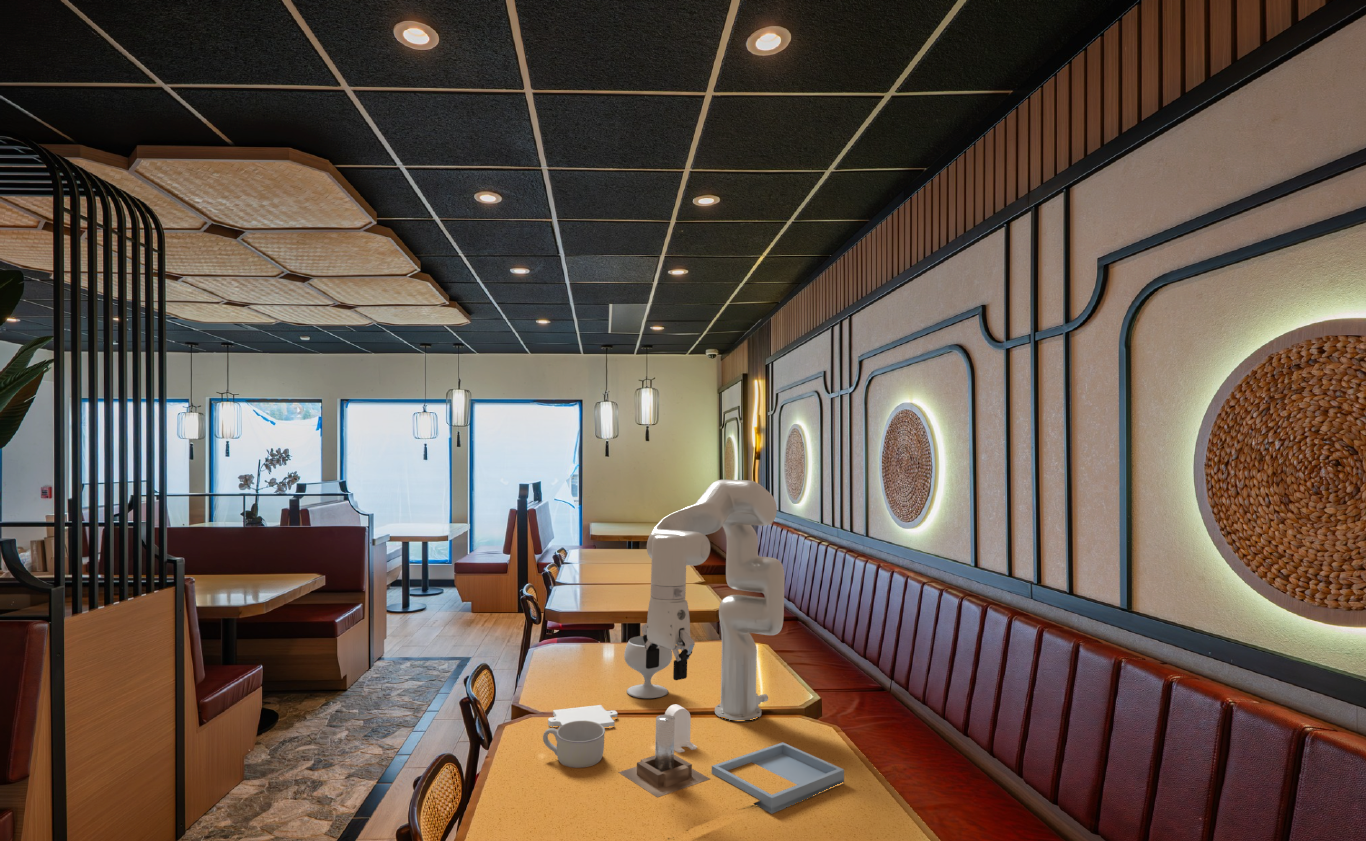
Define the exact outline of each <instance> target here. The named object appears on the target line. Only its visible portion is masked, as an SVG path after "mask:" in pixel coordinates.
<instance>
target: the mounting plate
mask: <svg viewBox="0 0 1366 841" xmlns="http://www.w3.org/2000/svg"><path fill="white" fill-rule="evenodd" d="M553 716H554V717H553ZM612 717H617V718H618V712H617V710H615V709H614V710H612V709H611V710H606V709H605V708H604V707H603V705H602V704H597V705H589V706H579V707H571V708H560V709H553V710H552V717H551V716H550V717H548V719H547V721H548V722H547V725H549V726H552V727H553V726H560V727H561V726H562V725H564V724H566V723H569V722H573V721H592V722H596V723H599V724H600V725H602V726H603V727H609V726H614V727H615V720H613V719H612ZM549 726H548V727H549Z"/></svg>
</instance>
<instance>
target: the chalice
mask: <svg viewBox="0 0 1366 841" xmlns="http://www.w3.org/2000/svg"><path fill="white" fill-rule="evenodd" d="M643 636H644V635H638V636H633V637H631V638H630V639H629V640H628V642H627V643H626V646H625V648H624V649H625V650H624V654H623V656H624V661H625V663H626V665H627V666H628V667H630V668H631V669H632V670H634V671H637V672H638V673H639V674H641V676H643V680H644V682H643V684H636V685H632V686H630V687H628V688H627V689H626V694H628V695H629V696H632V697H633V698H637V699H638V698H639V699H655V698H656V699H657V698H661V697H664V696H666V695H667V694H668V693H669V690H668V688H666V687H664V686H662V685H659V684H652V677H653V676H655V674H656V673H658V672H660V671H662V670H664V669H666V668H667V667H668V666H669V665H670V664H671V662H672V659H673V651H672V650H670V649H667V648H664V647H661V646H659V645H658V647H657V648H659V667H656V668H651V669H647V668H646V649H645V642H644V640H643Z"/></svg>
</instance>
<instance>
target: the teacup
mask: <svg viewBox="0 0 1366 841" xmlns="http://www.w3.org/2000/svg"><path fill="white" fill-rule="evenodd" d="M549 734H551V735H552V734H553V736H554V739H555V741H556V745H554V744H553V743H552V742H551V741H550V740H549V737H548V735H549ZM605 734H606V729H605V728H604V727H603V726H602V725H600V724H599V723H596V722H592V721H573V722H569V723H566V724H564V725H562V726H561V727H557V729H556V727H555V728H550V727H548V728H547V729H546V730H544V732H543V735H542V740H543V743H544V745H545V747H547V748H548V749H550V750H551V751H552V752H554V754H555V756H556V757H557V760H558V761H559V763H560V764H561V765H563V766H565V767H568V768H573V769H574V768H575V769H577V768H579V769H580V768H581V769H583V768H588V767H591V766H595V765H597V764H598V763H599V762H601V760H602V759H603V755H604V750H605Z"/></svg>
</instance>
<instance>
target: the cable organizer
mask: <svg viewBox="0 0 1366 841" xmlns="http://www.w3.org/2000/svg"><path fill="white" fill-rule="evenodd" d="M664 715H671V716H673V717H675V731H674V752H676V753H679V754H681V753H685V752H686V751H685V749H683V747H685V748H686V747H687V748H688V749H689V750H692V751H694V750H697V749H698V746H697V745H696V744H694V743H693V742H691V726H692V725H691V719H692V718H691V717H692V716H691V714H690V711H689V710H687V708H684V707H683V706H682V705H680V704H671V705H670V706H668V708H667V709H666V710H665V712H664Z"/></svg>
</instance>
